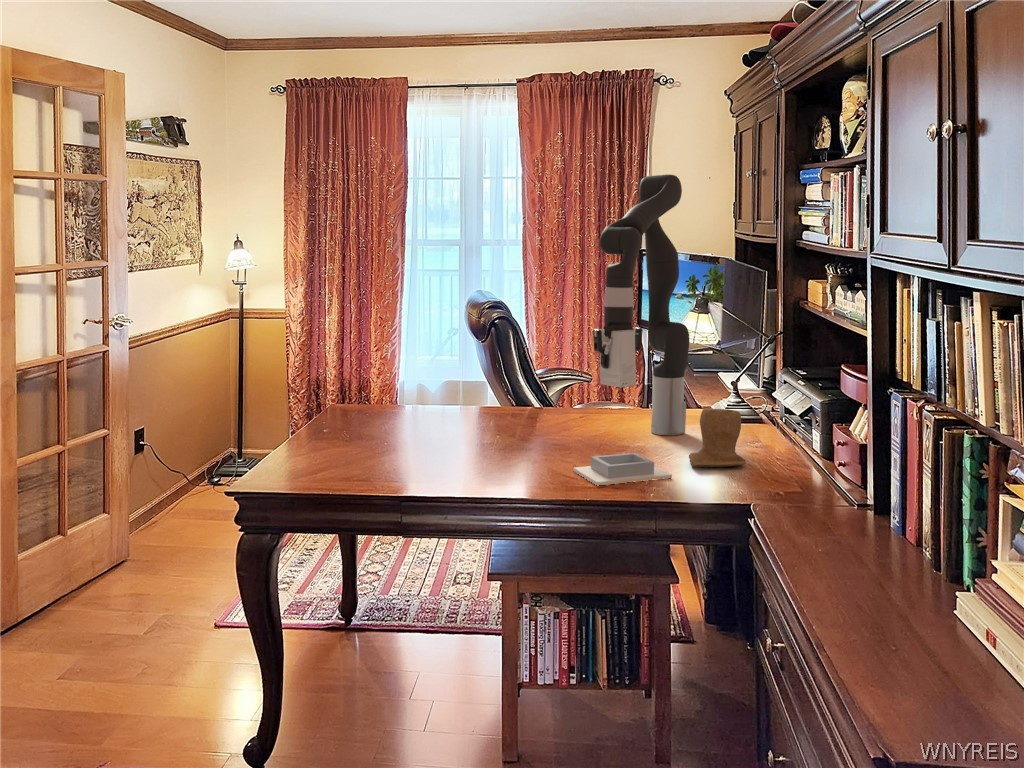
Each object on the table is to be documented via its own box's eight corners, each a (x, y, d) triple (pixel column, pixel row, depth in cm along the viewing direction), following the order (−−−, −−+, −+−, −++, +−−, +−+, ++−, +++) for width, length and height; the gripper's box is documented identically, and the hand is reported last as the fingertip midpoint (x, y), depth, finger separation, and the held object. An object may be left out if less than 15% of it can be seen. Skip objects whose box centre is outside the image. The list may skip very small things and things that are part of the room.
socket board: (644, 464, 230) (644, 449, 230) (671, 478, 217) (672, 462, 217) (573, 471, 224) (573, 455, 223) (597, 486, 211) (597, 469, 210)
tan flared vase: (734, 458, 237) (736, 403, 235) (751, 470, 226) (753, 412, 223) (678, 460, 235) (680, 404, 233) (692, 472, 224) (695, 413, 221)
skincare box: (636, 386, 236) (637, 330, 233) (619, 388, 232) (621, 331, 230) (613, 381, 242) (615, 327, 240) (597, 384, 239) (598, 328, 236)
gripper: (634, 302, 240) (632, 364, 243) (587, 304, 234) (586, 367, 237) (649, 304, 233) (647, 368, 236) (601, 306, 227) (600, 371, 230)
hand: (616, 367), depth 236 cm, fingers closed on skincare box, 6 cm apart
